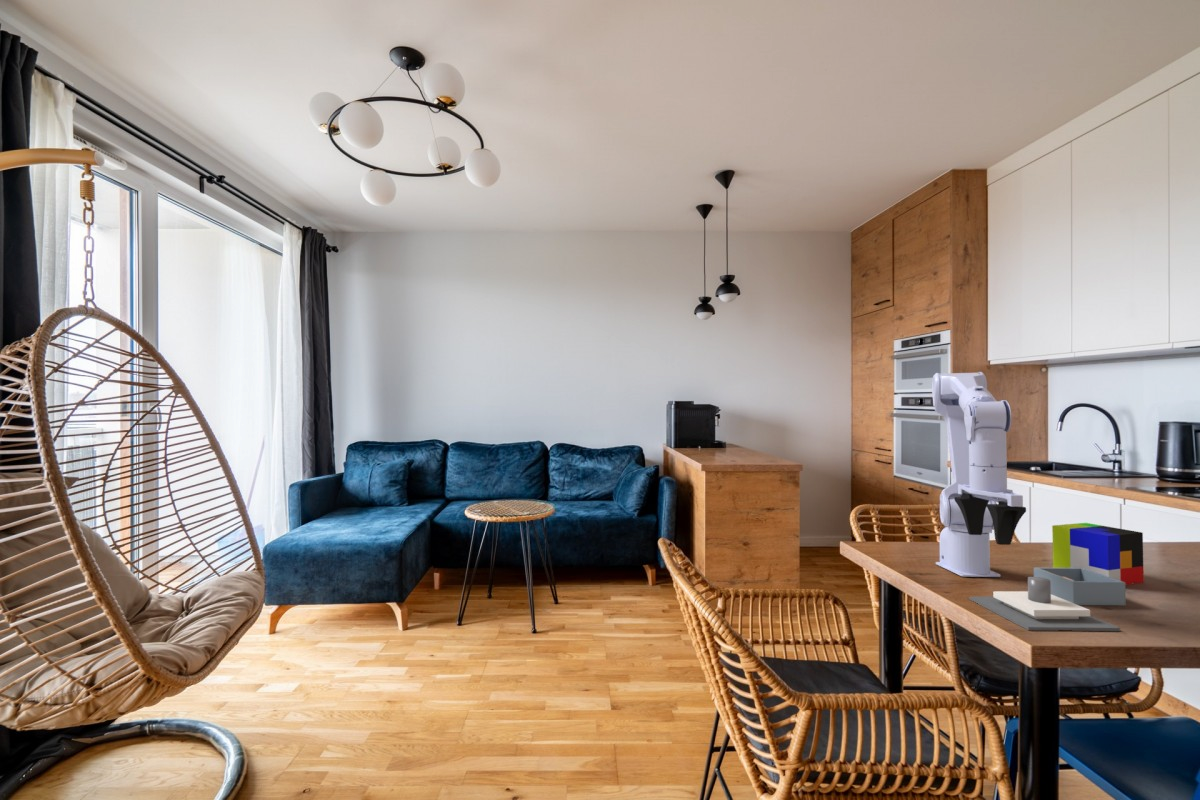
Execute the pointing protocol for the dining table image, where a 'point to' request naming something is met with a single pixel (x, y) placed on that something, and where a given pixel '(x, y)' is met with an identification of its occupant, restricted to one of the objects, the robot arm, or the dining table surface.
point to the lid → (1040, 601)
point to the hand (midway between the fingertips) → (988, 539)
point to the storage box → (1083, 586)
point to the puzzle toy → (1099, 550)
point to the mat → (1043, 624)
